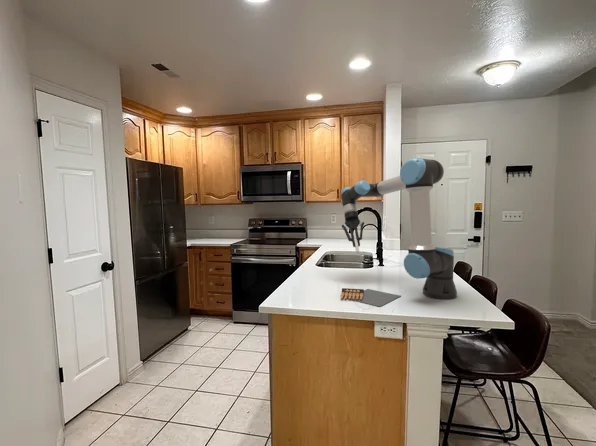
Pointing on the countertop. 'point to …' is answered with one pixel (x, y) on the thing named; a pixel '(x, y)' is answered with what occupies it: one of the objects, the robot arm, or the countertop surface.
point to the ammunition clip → (355, 292)
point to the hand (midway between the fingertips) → (357, 252)
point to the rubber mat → (376, 298)
